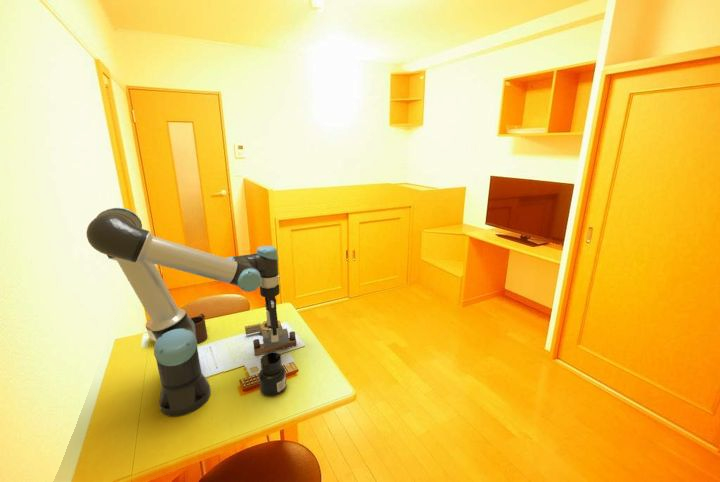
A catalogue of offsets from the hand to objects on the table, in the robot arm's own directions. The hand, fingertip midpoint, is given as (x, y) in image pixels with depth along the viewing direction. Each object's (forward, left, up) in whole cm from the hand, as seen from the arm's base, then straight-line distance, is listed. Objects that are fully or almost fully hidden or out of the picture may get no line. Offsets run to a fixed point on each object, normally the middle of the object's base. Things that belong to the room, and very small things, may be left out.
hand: (272, 332), depth 134 cm
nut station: (+15, -1, -8) cm, 16 cm away
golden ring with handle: (+15, +3, -6) cm, 16 cm away
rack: (0, -1, -8) cm, 8 cm away
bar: (0, -1, -5) cm, 5 cm away
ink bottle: (-23, +3, -8) cm, 25 cm away
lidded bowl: (+27, +43, -8) cm, 52 cm away
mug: (+23, +29, -8) cm, 38 cm away
